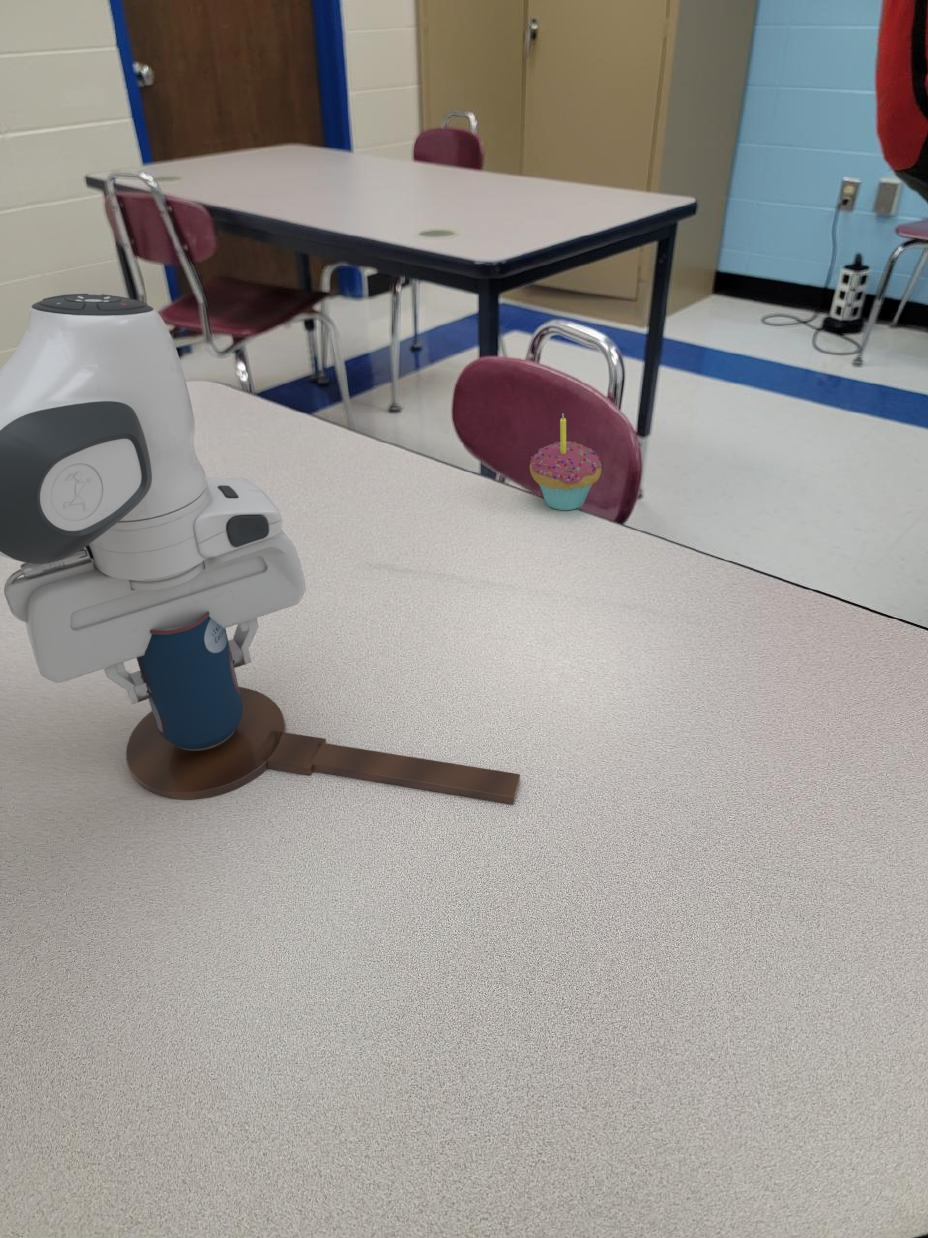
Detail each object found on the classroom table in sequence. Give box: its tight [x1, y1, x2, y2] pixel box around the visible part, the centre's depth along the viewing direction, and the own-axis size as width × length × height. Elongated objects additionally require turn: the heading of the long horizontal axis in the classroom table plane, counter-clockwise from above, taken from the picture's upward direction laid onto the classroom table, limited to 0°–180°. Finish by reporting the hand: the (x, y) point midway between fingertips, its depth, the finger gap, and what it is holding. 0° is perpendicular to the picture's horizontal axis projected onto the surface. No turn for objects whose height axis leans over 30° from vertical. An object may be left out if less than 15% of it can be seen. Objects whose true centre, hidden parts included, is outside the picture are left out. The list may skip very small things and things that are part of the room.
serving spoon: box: [125, 686, 521, 805], centre depth 74 cm, size 33×13×1 cm, turn 76°
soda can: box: [136, 611, 243, 751], centre depth 71 cm, size 7×7×12 cm
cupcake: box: [529, 412, 603, 511], centre depth 105 cm, size 9×8×12 cm
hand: (191, 679), depth 72 cm, fingers closed on soda can, 7 cm apart
